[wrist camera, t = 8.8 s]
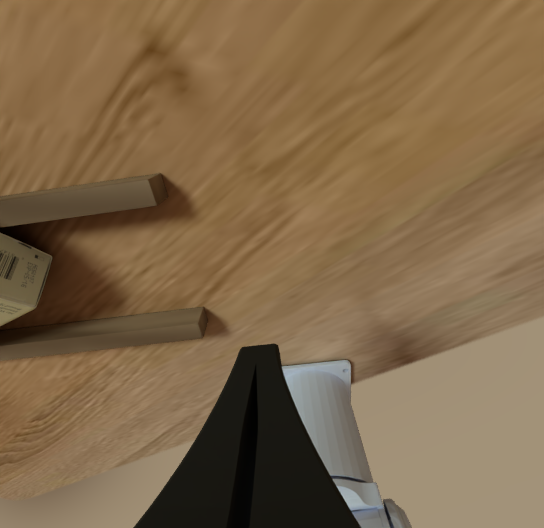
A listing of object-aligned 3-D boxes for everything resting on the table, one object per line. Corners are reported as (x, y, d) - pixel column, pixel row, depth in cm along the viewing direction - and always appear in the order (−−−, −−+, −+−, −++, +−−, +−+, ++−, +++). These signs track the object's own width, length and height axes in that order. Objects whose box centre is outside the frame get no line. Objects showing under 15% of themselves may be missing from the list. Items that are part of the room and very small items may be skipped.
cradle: (207, 321, 22) (202, 338, 21) (-53, 351, 24) (-79, 369, 22) (160, 173, 17) (147, 179, 15) (-179, 222, 18) (-227, 233, 16)
